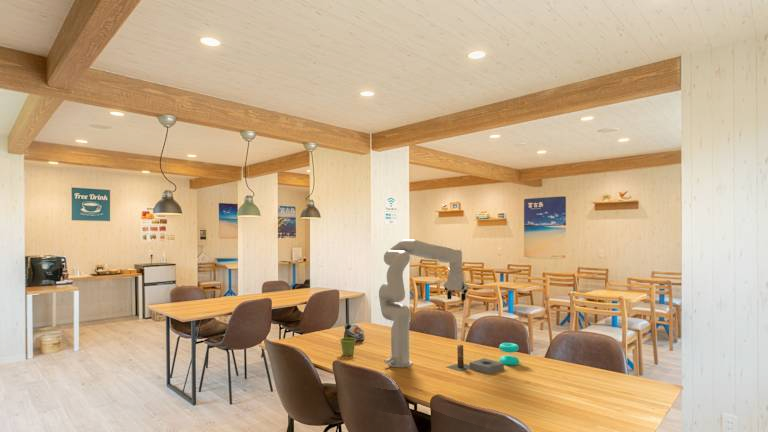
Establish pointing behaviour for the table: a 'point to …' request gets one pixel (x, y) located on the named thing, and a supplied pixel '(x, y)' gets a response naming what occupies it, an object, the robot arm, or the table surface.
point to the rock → (353, 332)
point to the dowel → (460, 356)
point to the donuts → (508, 359)
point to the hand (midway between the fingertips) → (456, 299)
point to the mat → (455, 367)
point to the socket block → (486, 366)
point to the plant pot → (348, 346)
